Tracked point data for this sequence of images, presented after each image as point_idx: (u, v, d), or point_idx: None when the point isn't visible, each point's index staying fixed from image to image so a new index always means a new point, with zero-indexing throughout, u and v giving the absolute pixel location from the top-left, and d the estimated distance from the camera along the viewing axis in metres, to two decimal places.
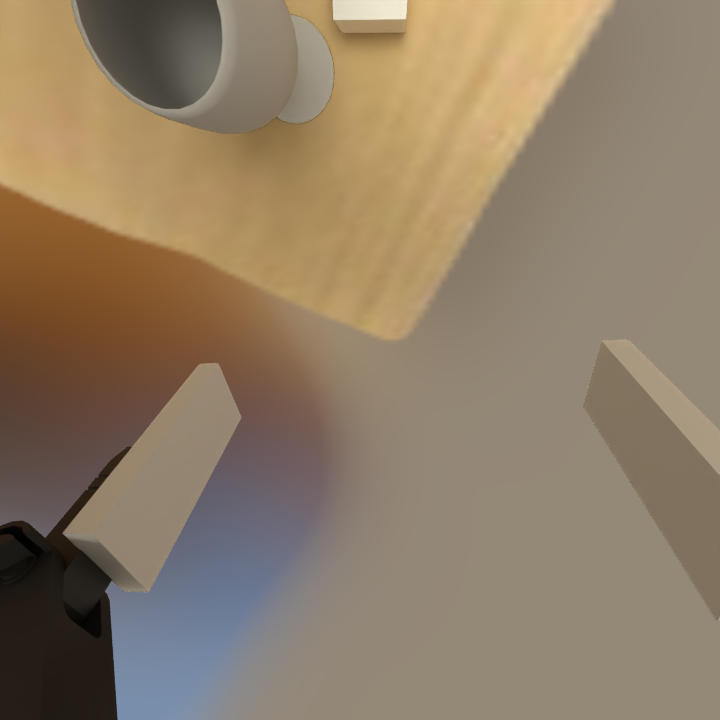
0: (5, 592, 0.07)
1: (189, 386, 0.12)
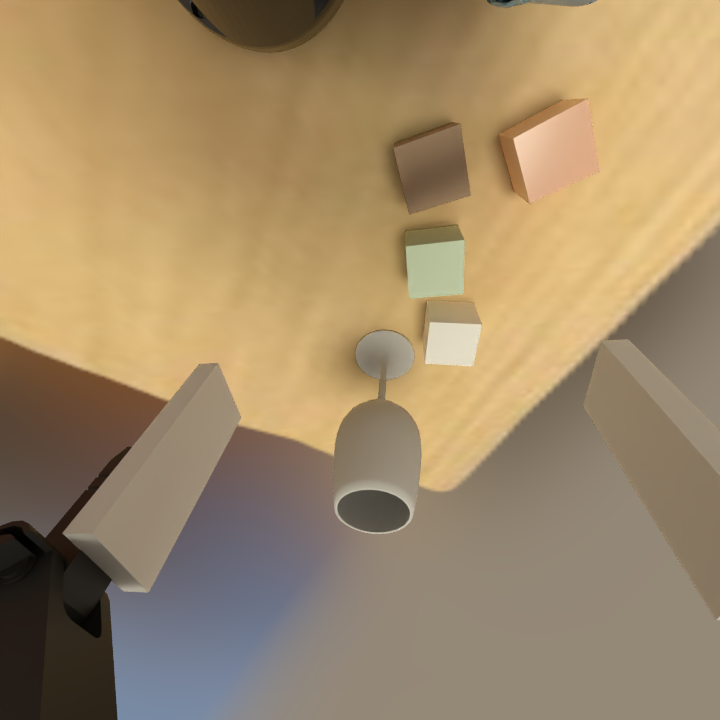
0: (5, 592, 0.07)
1: (189, 387, 0.12)
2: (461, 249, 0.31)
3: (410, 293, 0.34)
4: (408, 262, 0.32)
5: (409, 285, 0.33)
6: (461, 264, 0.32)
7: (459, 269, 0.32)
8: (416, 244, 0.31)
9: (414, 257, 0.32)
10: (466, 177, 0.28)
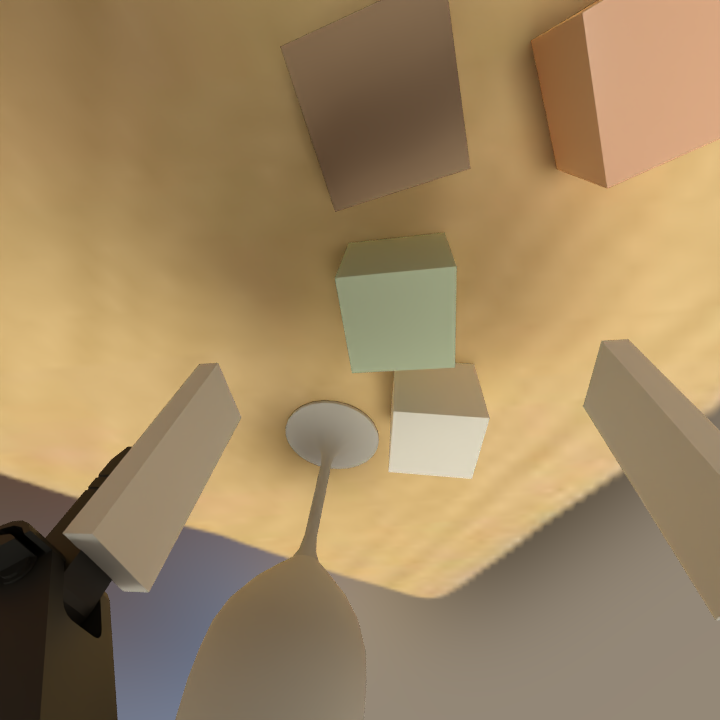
0: (5, 592, 0.07)
1: (189, 387, 0.12)
2: (450, 285, 0.15)
3: (353, 364, 0.18)
4: (343, 308, 0.16)
5: (350, 350, 0.17)
6: (450, 314, 0.16)
7: (446, 323, 0.16)
8: (356, 273, 0.15)
9: (353, 299, 0.16)
10: (460, 124, 0.12)
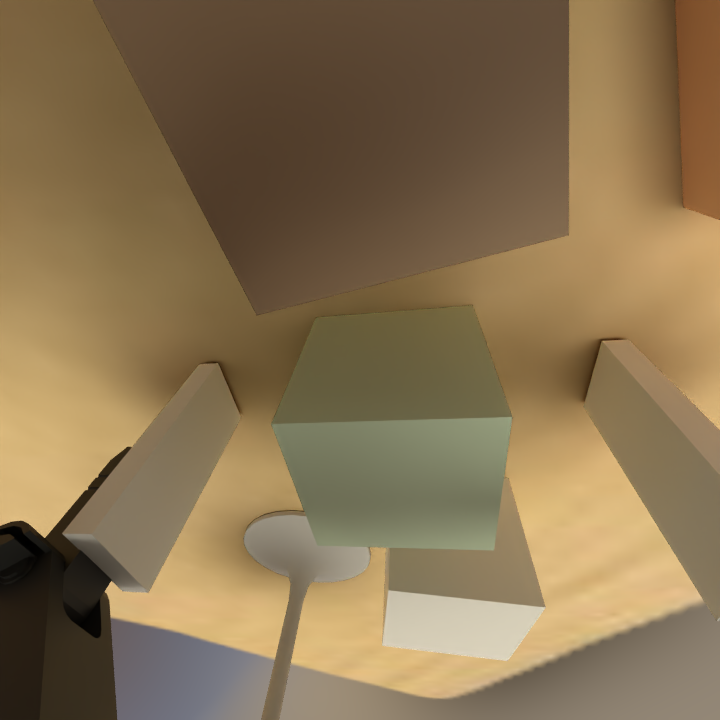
0: (4, 592, 0.07)
1: (189, 387, 0.12)
2: (496, 445, 0.08)
3: (318, 535, 0.10)
4: (294, 467, 0.09)
5: (311, 519, 0.10)
6: (492, 485, 0.08)
7: (484, 496, 0.09)
8: (314, 414, 0.08)
9: (311, 455, 0.08)
10: (557, 127, 0.04)
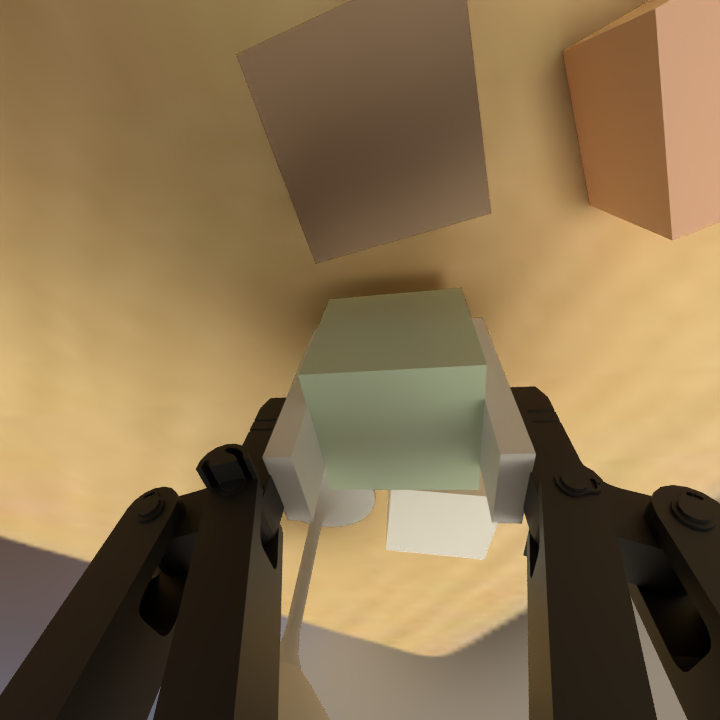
0: (222, 502, 0.08)
1: None
2: (475, 389, 0.10)
3: (332, 479, 0.12)
4: (314, 414, 0.11)
5: (326, 464, 0.12)
6: (474, 426, 0.10)
7: (468, 437, 0.11)
8: (331, 367, 0.10)
9: (328, 403, 0.10)
10: (479, 157, 0.09)
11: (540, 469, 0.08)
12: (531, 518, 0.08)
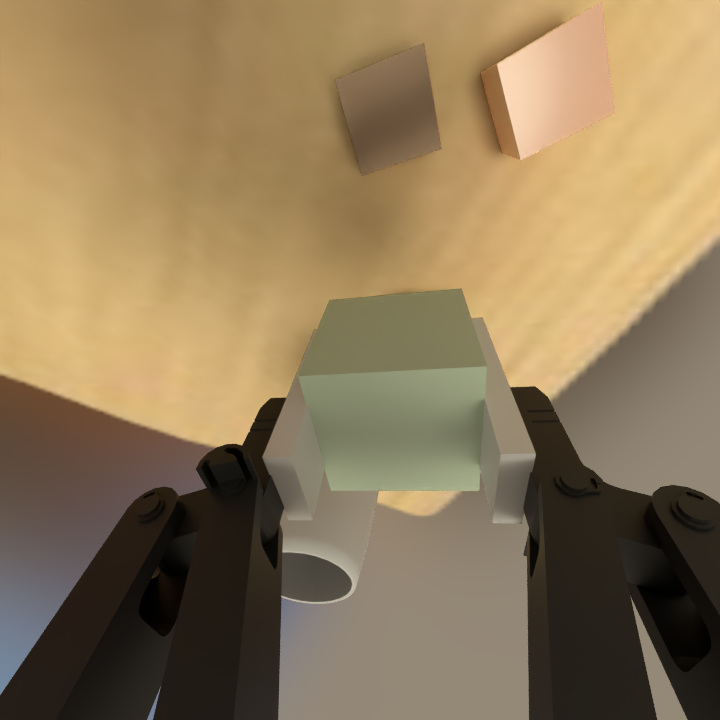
0: (222, 502, 0.08)
1: None
2: (475, 391, 0.10)
3: (332, 480, 0.12)
4: (314, 415, 0.11)
5: (326, 465, 0.12)
6: (474, 427, 0.10)
7: (468, 438, 0.11)
8: (332, 369, 0.10)
9: (328, 404, 0.10)
10: (435, 123, 0.21)
11: (540, 469, 0.08)
12: (531, 518, 0.08)
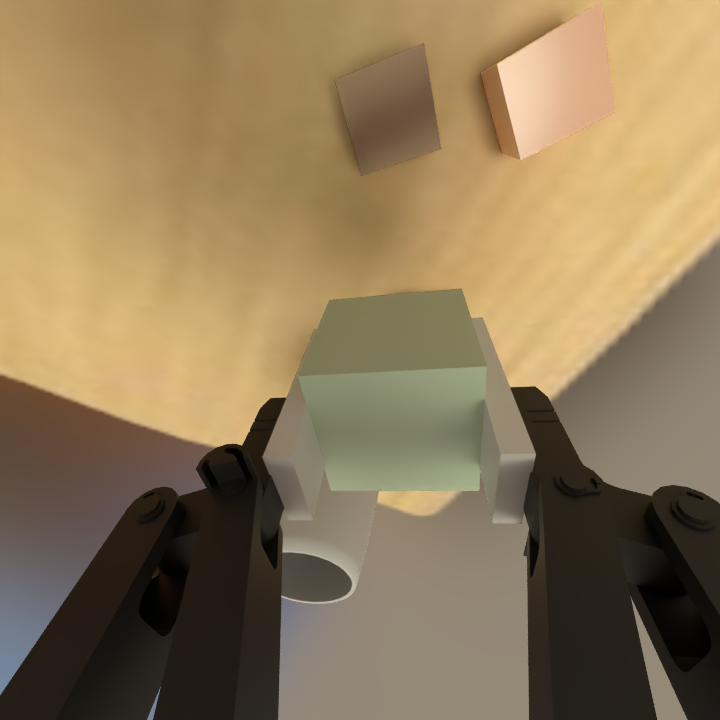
0: (222, 502, 0.08)
1: None
2: (475, 391, 0.10)
3: (332, 480, 0.12)
4: (314, 415, 0.11)
5: (326, 465, 0.12)
6: (474, 427, 0.10)
7: (468, 438, 0.11)
8: (331, 369, 0.10)
9: (328, 404, 0.10)
10: (434, 123, 0.21)
11: (540, 469, 0.08)
12: (531, 518, 0.08)
